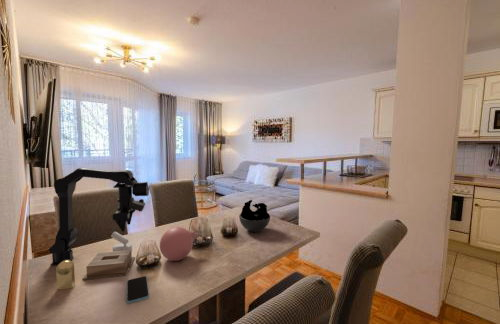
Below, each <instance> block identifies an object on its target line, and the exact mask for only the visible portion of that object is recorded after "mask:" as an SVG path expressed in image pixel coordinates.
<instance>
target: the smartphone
mask: <svg viewBox="0 0 500 324" xmlns="http://www.w3.org/2000/svg"><path fill="white" fill-rule="evenodd" d="M149 295H150V294H149V286H148V277H147V276H145V275H143V276H140V277H139V276H138V277H135V278H131V279H128V280H126V303H127V304H131V303H136V302H139V301H143V300H147V299H149V297H150V296H149Z"/></svg>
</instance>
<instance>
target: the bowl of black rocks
mask: <svg viewBox="0 0 500 324" xmlns="http://www.w3.org/2000/svg"><path fill="white" fill-rule="evenodd" d="M252 202H253V199H250V200H248V201H246V202H244V204H243V207H242V209H241V212H240V214H239V215H238V217H239V222H240V224H241V226H242V227H243V228H244V229H245V230H247V231H249V232H252V233H253V232H254V233H258V232H261V231H263V230H264V229H265V228H266V227H267V226H268V225H269V223H270V221H271V215H270V213H268V206H267V204H265V202H258V203H255V204H252ZM251 204H252V205H251ZM251 206H253V207H254V208H255V210H253V209H251Z"/></svg>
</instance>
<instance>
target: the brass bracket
mask: <svg viewBox="0 0 500 324" xmlns="http://www.w3.org/2000/svg"><path fill="white" fill-rule="evenodd" d="M55 272H56V274H55V275H56V288H57V290H66V289H73V288H74V286H76V276H75V274H76V273H75V263H74V262H73V261H72V260H64V261H62V262H61V263H60V264H59V265H56V268H55Z"/></svg>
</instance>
